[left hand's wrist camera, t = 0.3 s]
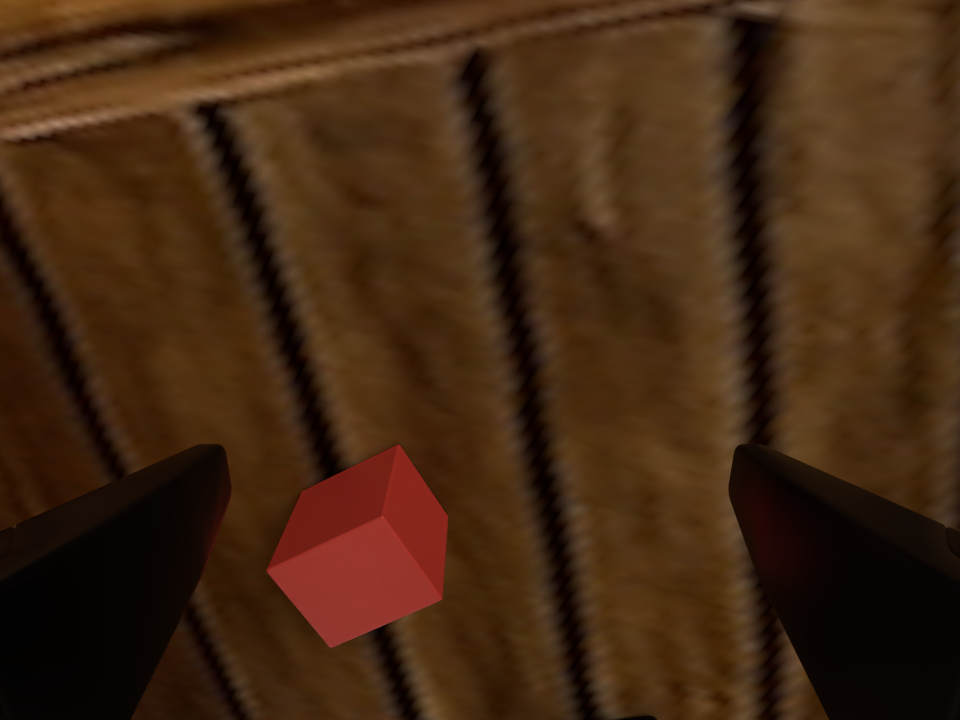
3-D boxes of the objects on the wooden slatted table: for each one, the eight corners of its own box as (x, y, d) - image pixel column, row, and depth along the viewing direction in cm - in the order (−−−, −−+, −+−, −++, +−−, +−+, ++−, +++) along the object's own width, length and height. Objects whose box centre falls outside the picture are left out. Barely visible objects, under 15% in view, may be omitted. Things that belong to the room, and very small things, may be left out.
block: (449, 516, 27) (443, 600, 23) (354, 560, 28) (330, 649, 24) (399, 442, 26) (382, 516, 21) (300, 490, 27) (264, 571, 22)
